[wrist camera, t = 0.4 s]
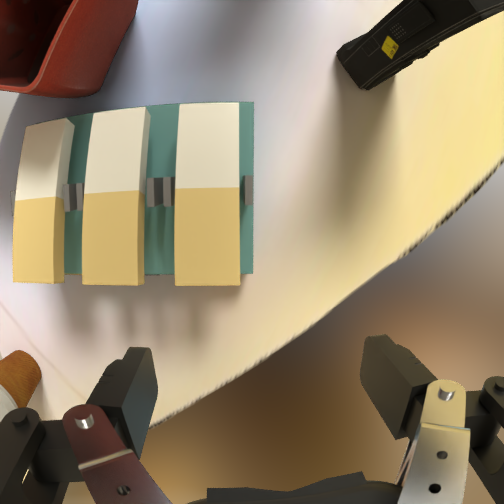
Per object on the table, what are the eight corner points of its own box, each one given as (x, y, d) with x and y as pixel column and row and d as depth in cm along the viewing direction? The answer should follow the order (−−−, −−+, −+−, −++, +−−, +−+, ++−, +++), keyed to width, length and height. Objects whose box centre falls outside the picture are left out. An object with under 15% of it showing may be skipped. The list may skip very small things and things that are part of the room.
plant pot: (57, -14, 26) (2, -67, 10) (172, -9, 29) (145, -92, 12) (4, 103, 30) (-80, 85, 13) (112, 124, 32) (34, 94, 16)
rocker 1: (35, 133, 25) (26, 126, 23) (74, 125, 26) (66, 117, 24) (24, 280, 25) (13, 282, 23) (64, 282, 25) (53, 283, 23)
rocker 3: (182, 113, 26) (179, 104, 24) (238, 112, 27) (239, 102, 25) (179, 283, 26) (175, 285, 24) (239, 283, 26) (240, 285, 24)
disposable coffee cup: (10, 329, 37) (-33, 367, 26) (56, 367, 39) (20, 414, 28) (0, 365, 39) (-36, 403, 27) (42, 399, 41) (12, 444, 29)
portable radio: (356, 97, 33) (507, 24, 9) (326, 57, 32) (442, -60, 8) (399, 72, 33) (543, 6, 9) (371, 34, 31) (493, -61, 7)
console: (56, 128, 32) (9, 118, 22) (250, 111, 33) (258, 88, 23) (62, 264, 36) (20, 291, 26) (250, 263, 37) (257, 296, 27)
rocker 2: (101, 121, 26) (93, 113, 24) (150, 116, 26) (145, 106, 24) (92, 283, 26) (82, 284, 24) (144, 283, 26) (137, 285, 24)
